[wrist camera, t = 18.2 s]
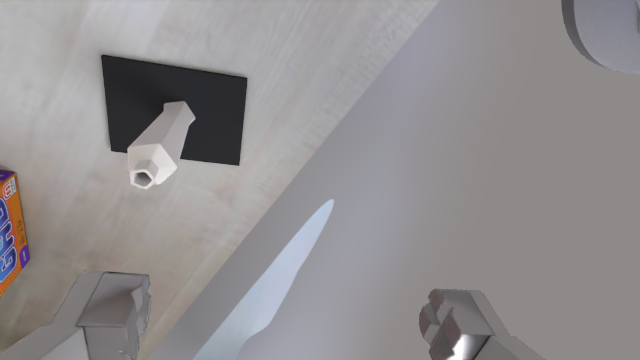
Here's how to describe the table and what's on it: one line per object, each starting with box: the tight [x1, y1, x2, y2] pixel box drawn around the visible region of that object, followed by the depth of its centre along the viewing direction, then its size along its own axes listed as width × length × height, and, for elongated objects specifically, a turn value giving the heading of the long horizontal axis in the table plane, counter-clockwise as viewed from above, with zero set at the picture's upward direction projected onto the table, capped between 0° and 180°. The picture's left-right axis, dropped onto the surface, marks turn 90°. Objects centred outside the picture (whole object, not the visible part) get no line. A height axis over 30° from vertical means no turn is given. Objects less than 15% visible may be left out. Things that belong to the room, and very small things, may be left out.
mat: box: [101, 55, 247, 166], centre depth 45 cm, size 16×12×1 cm
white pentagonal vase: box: [127, 101, 195, 190], centre depth 38 cm, size 5×4×15 cm
